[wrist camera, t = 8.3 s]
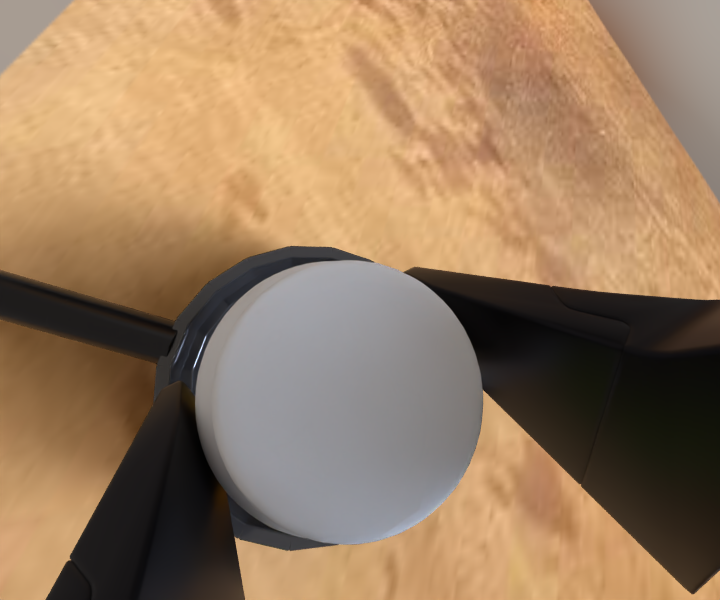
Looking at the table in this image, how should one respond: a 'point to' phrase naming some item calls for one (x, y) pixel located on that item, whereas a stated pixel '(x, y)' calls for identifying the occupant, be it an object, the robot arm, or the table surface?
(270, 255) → the skillet
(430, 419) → the supplement bottle
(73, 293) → the skillet handle
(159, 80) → the table surface
